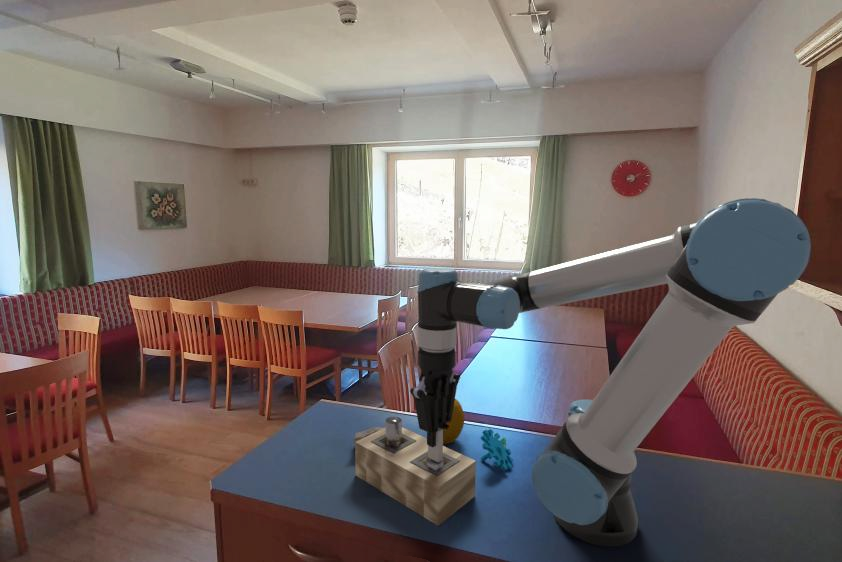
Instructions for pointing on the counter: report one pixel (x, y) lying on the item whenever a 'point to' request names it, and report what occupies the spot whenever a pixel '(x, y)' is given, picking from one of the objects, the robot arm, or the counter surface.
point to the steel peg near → (434, 464)
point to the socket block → (416, 474)
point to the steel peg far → (393, 431)
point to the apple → (454, 424)
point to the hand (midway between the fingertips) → (435, 458)
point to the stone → (365, 433)
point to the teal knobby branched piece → (496, 449)
